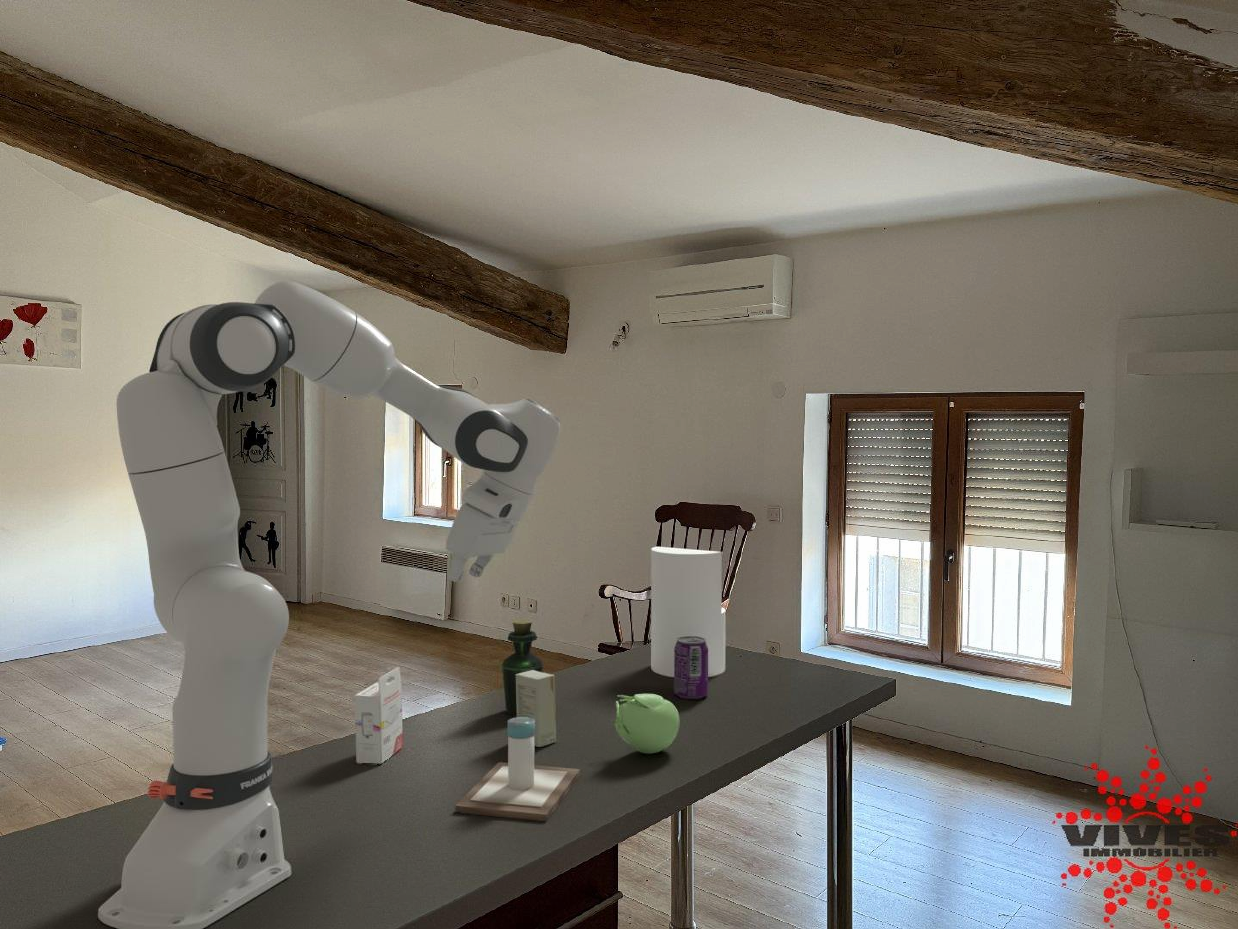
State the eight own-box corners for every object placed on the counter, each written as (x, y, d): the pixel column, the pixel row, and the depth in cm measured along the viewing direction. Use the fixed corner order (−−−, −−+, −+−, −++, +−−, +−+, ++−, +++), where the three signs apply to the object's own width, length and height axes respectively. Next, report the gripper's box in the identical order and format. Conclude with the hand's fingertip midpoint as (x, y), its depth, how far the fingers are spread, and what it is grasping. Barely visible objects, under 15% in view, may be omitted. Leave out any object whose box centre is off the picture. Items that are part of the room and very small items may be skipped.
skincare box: (557, 742, 166) (557, 675, 166) (539, 748, 163) (538, 679, 163) (533, 734, 171) (532, 668, 170) (515, 740, 168) (514, 673, 167)
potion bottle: (533, 719, 179) (532, 627, 178) (495, 715, 182) (494, 624, 181) (549, 707, 187) (549, 618, 186) (512, 703, 189) (512, 616, 189)
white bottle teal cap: (530, 791, 141) (530, 726, 140) (503, 789, 142) (503, 724, 141) (538, 781, 145) (538, 718, 145) (512, 778, 146) (512, 716, 145)
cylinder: (703, 682, 205) (703, 556, 204) (637, 671, 215) (637, 550, 214) (737, 665, 220) (738, 547, 219) (674, 655, 229) (674, 542, 228)
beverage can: (713, 694, 196) (714, 638, 196) (698, 703, 190) (698, 644, 190) (684, 689, 200) (684, 634, 199) (668, 697, 194) (668, 640, 193)
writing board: (546, 821, 133) (546, 813, 133) (455, 812, 136) (455, 804, 136) (579, 775, 151) (579, 768, 151) (498, 768, 154) (498, 761, 154)
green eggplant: (631, 738, 169) (631, 678, 168) (687, 749, 163) (687, 687, 163) (597, 759, 158) (597, 695, 158) (655, 771, 153) (655, 705, 152)
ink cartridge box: (377, 746, 164) (376, 664, 164) (403, 748, 163) (402, 665, 163) (354, 763, 156) (353, 677, 155) (381, 766, 155) (380, 678, 154)
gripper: (504, 491, 158) (470, 564, 159) (460, 489, 138) (421, 572, 139) (536, 508, 157) (501, 581, 157) (496, 508, 137) (457, 592, 137)
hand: (463, 577), depth 148 cm, fingers open, 8 cm apart
